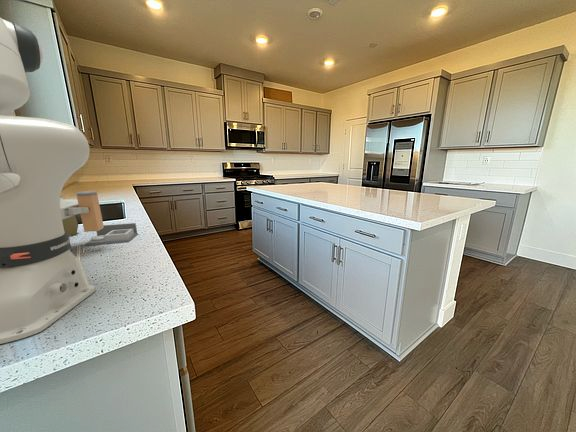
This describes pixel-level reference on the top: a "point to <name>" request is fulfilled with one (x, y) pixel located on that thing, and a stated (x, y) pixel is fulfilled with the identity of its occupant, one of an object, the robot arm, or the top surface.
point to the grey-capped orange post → (94, 217)
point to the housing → (114, 234)
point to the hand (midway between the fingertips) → (93, 208)
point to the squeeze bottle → (70, 225)
